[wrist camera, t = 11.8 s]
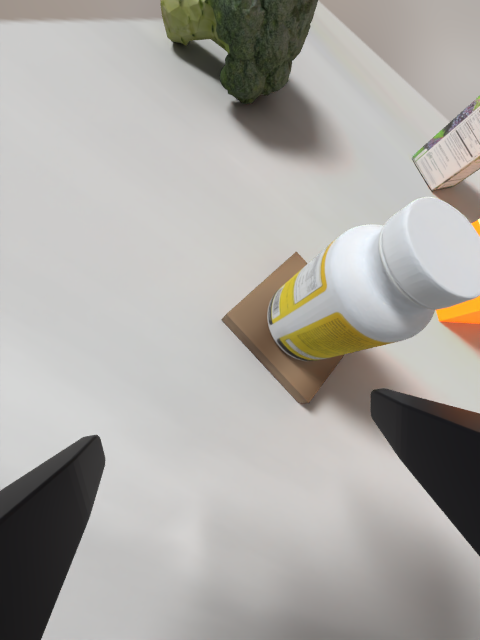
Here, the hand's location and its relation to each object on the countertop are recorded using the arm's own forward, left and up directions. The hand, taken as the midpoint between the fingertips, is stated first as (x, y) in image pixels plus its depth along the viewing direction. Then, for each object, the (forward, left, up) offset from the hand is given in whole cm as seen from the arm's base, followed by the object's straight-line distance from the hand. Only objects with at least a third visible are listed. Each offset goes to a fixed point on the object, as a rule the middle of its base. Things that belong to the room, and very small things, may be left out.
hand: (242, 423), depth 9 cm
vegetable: (+23, -26, -11) cm, 37 cm away
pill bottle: (-1, -10, -9) cm, 14 cm away
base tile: (-1, -11, -11) cm, 15 cm away
